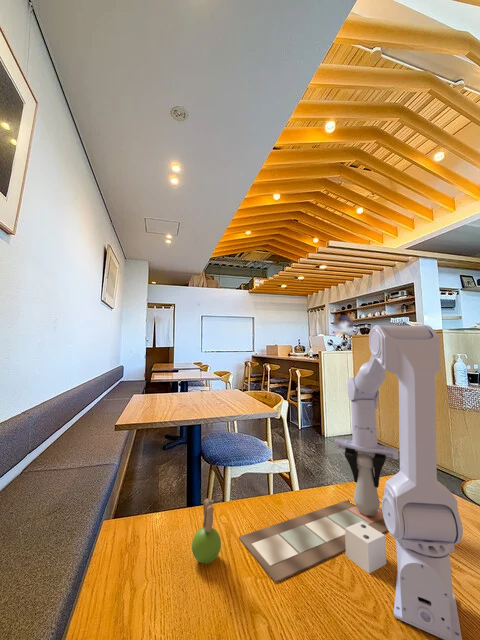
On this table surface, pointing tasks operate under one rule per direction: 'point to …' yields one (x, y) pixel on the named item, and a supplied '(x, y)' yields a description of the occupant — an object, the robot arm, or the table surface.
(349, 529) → the die
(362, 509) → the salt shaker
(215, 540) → the green ball handle toy
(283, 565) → the game board
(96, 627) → the table surface
